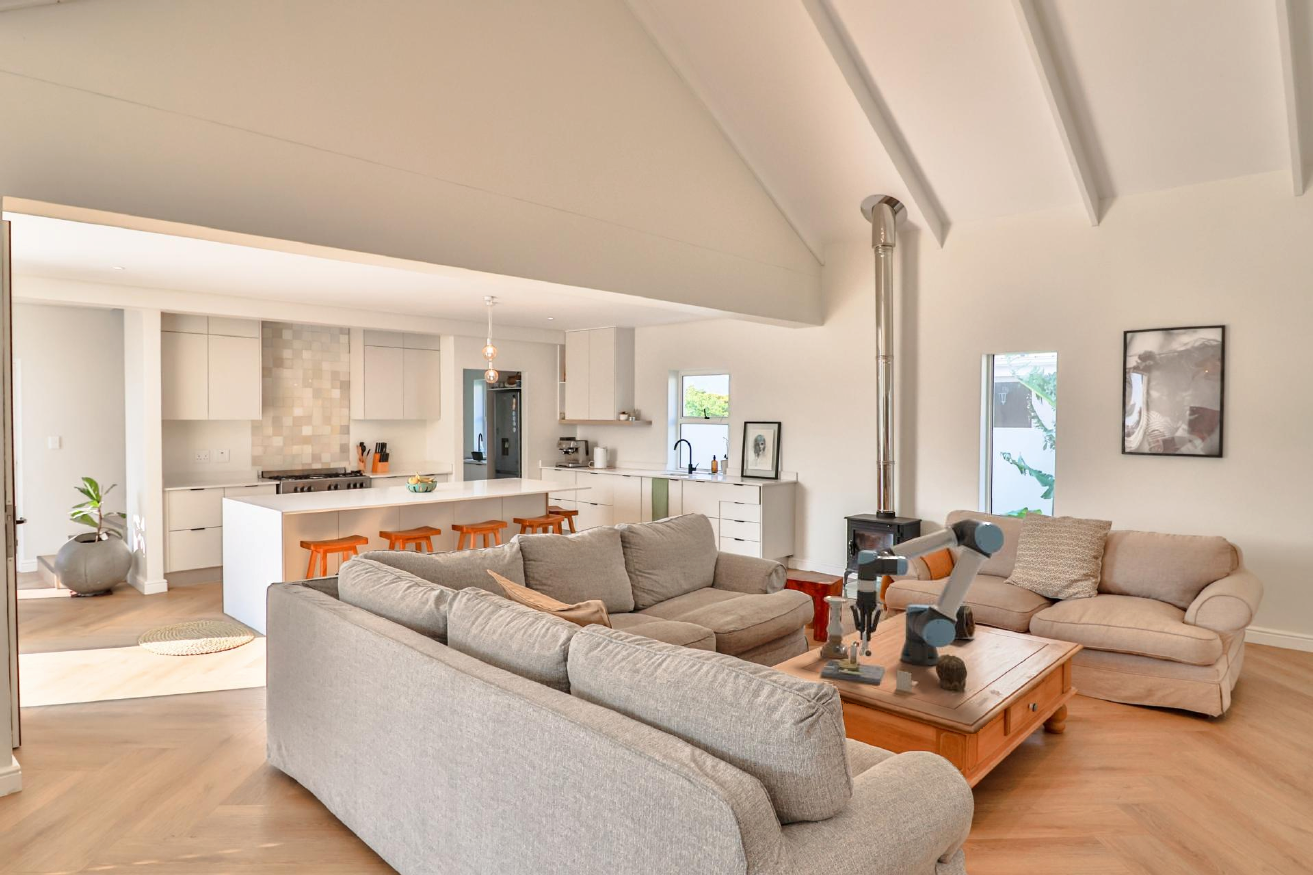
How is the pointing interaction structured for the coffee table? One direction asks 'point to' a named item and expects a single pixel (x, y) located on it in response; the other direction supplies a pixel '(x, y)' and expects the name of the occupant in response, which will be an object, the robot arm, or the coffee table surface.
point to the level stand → (853, 673)
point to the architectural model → (904, 681)
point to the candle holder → (835, 629)
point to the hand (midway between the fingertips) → (865, 648)
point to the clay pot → (964, 623)
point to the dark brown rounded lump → (951, 673)
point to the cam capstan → (851, 657)
